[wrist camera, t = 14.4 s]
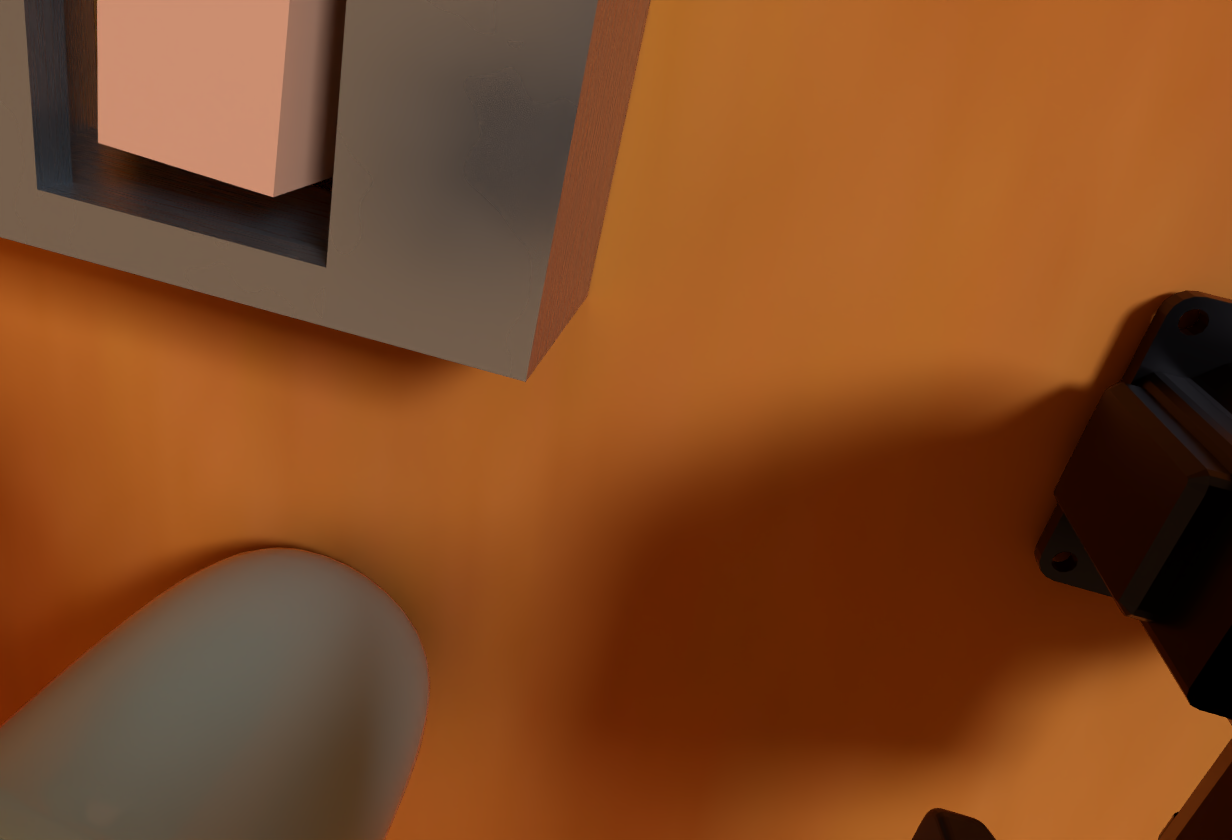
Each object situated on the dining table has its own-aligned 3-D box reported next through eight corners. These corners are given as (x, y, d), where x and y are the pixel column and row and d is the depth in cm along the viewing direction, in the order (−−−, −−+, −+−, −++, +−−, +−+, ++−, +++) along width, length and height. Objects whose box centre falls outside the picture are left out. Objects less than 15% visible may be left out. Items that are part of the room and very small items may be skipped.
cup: (522, 626, 23) (351, 1021, 14) (379, 783, 26) (164, 1185, 17) (268, 445, 22) (-95, 742, 13) (153, 632, 25) (-201, 973, 16)
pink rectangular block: (381, -138, 14) (304, -168, 12) (344, 172, 16) (273, 197, 14) (206, -189, 14) (96, -228, 12) (192, 125, 16) (98, 143, 14)
